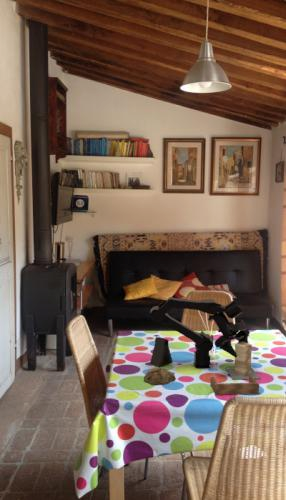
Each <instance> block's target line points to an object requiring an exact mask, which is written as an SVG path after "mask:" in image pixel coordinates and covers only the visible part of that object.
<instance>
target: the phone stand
mask: <svg viewBox="0 0 286 500" xmlns="http://www.w3.org/2000/svg"><path fill="white" fill-rule="evenodd" d="M149 363H150V364H149V365H152V366H155V367H156V368H162V367H165V366H167V365H171V364H173V363H174V361H173V358H172V355H171V350H170V346H169V340H168V339H167V338H163V337H160V336H156V337H155V339H154V347H153V350H152V354H151V358H150V362H149Z"/></svg>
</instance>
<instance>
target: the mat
mask: <svg viewBox="0 0 286 500" xmlns="http://www.w3.org/2000/svg"><path fill="white" fill-rule="evenodd" d="M234 370H235V367H231V368H228V367H226V368H225V371H226V372H227V374H228V375H229V376H230V378H231V379H232V380H234V381H237V380H238V381H239V380H249V376H252V377H253V378H254V379H255V380H261V376H260V375H259V374H258V373H257V372H256V371H255V369H254V368H253V367H251V374H248V375H246V376H242V375H239V374H236V373H234Z"/></svg>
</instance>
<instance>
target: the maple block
mask: <svg viewBox="0 0 286 500" xmlns="http://www.w3.org/2000/svg"><path fill="white" fill-rule="evenodd" d="M234 350H235V352H236V354H237V357H236V358H235V357H234V368H235V370H234V373H236V374H239V375H242V376H246V375H248V374H251V368H252V344H251V343H249V342H248V343H245V342H240V343H238V342H236V343H235V344H234Z"/></svg>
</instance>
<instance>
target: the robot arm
mask: <svg viewBox="0 0 286 500" xmlns="http://www.w3.org/2000/svg"><path fill="white" fill-rule="evenodd" d="M173 308H175V309H176V308H177V309H186V310H194V311H200V312H203V313H204V314H205V313H206V314H208V318H207V319H208V322H210V323H211V322H214V324H215V325H216V327H217V329H218V330H217V332H218V333H221V335H220V336H218V338H216V339H215V340H214V342H213V340H212V338H211V336H210V334H209V333H206V332H205V331H203V330H201V331H200V332H197V331H196V330H194V329H192V328H190V327H189V326H186V325H185V324H184V323H181V322H180V321H178V320H177V319H175V318H174V317H171V316H170V315H169V313H168V312H169V311H170V310H172V309H173ZM149 313H150V314H149V317H150V319H151V320H152V321H153V322H155V323H157V324H160V325H166V326H167V327H169V328H170V329H173V330H174V331H176V332H177V333H179V334H181V335H182V336H185V337H186V338H188V339H190V340H191V341H192V342H193V343H195V345H194V349H195V351H193V352H194V356H193V360H194V361H193V365H194V367H195V368H196V369H203V368H204V369H205V368H207V369H209V368H211V366H210V365H211V355H210V351H212V350H213V349H214V346H215V347H216V348H217V349H218V348H219V350H223V351H224V352H226V353H228V355H231V356H232V357H234V359H235V358H236V357H237V354H236V352H235V348H234V347H233V345H232V341H233V340H236V341H237V343H240V342H245V343H249V342H248V341H249V340H248V338H249V336H250V334H251V332H250V331H249V329H248V328H246V326H247V324H246V322H245V320H244V319H239V320H238V321H237V322H236V323H234V322H233V321H230V320H229V319H232V320H234V319H235V318H236V317H238V316H240V315H241V314H242V313H244V312H243V310H242V309H241V307H240V306H239V305H238V304H237V303H236V301H235V299H232V300H231V301H230V302H229V303H227V304H226V305H223V304H221V303H218V302H217V301H216V300H215V299H201V300H195V299H186V298H176V297H173V296H170V297H168V298H167V299H166V300H164V301H162V302H161V303H160V304H159V305H156V306H155V305H154V306H153V307H152V308H151V309H150V312H149Z"/></svg>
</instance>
